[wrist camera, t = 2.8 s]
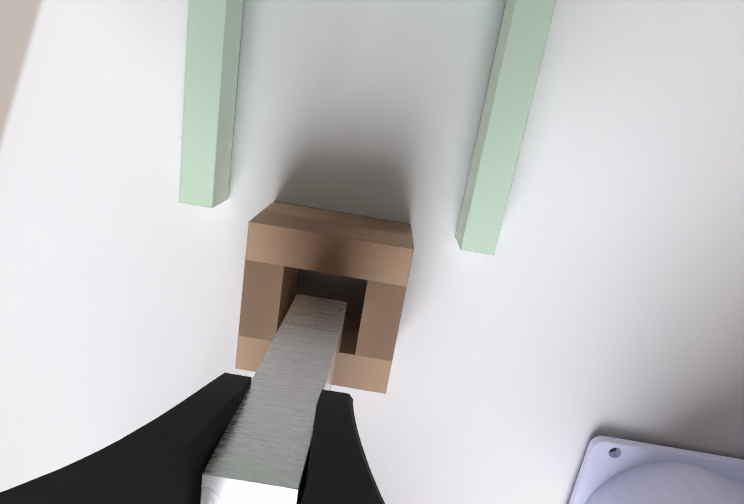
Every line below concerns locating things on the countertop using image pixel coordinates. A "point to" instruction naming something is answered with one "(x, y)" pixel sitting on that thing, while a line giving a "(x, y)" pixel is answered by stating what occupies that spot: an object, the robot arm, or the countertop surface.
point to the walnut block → (333, 256)
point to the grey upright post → (278, 411)
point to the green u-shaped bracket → (494, 139)
